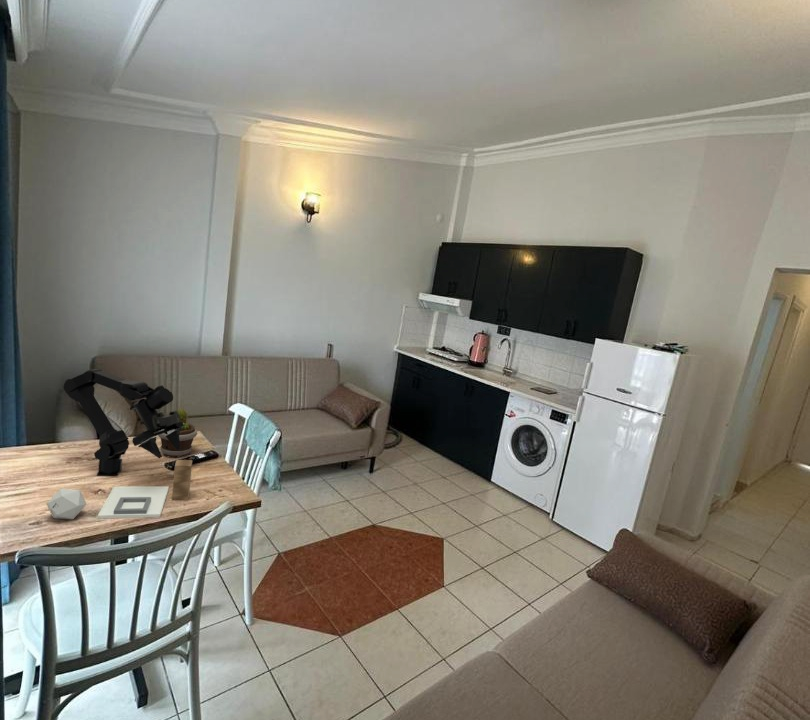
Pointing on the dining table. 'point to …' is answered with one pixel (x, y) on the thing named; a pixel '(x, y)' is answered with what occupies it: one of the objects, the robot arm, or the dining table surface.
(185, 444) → the flowerpot
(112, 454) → the robot arm
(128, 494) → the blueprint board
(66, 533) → the dining table surface
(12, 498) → the dining table surface
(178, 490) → the brown paper bag
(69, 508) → the die
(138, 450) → the dining table surface
